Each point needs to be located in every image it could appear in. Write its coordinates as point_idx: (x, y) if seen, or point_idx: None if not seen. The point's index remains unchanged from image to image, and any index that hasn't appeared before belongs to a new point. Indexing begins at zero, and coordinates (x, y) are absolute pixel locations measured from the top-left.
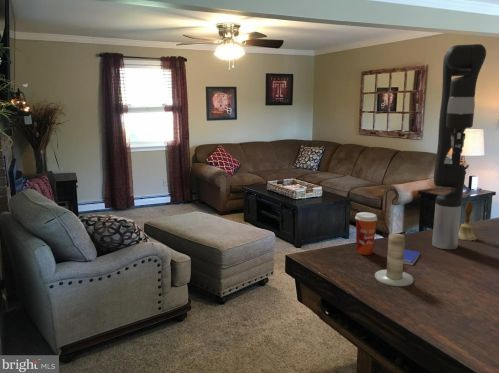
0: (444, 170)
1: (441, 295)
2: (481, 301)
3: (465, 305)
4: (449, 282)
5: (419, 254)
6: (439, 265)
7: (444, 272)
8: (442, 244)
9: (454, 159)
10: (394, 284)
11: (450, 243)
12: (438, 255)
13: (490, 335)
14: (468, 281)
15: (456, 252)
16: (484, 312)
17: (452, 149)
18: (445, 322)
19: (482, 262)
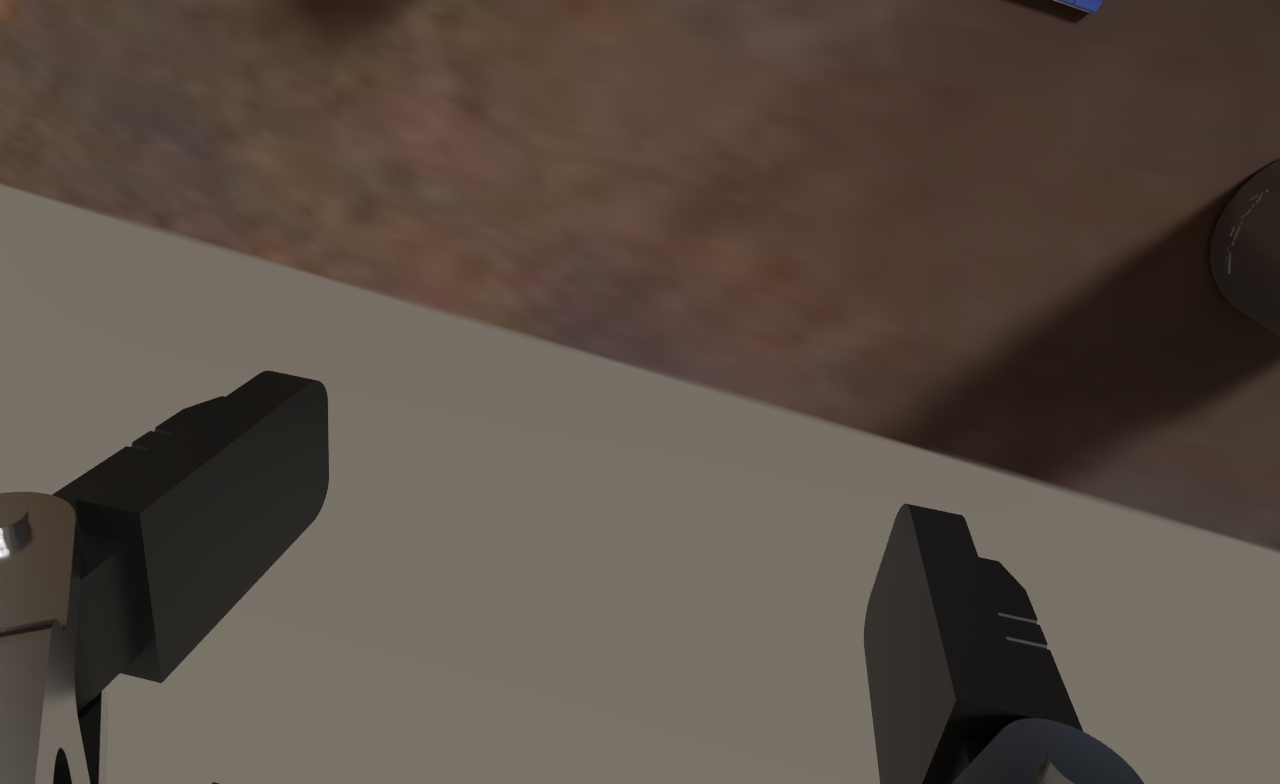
0: None
1: (413, 63)
2: (415, 251)
3: (342, 165)
4: (603, 140)
5: (1075, 7)
6: (873, 128)
7: (753, 139)
8: (1243, 212)
9: (139, 454)
10: None
11: (1231, 271)
12: (1078, 154)
13: (114, 204)
14: (646, 249)
15: (1152, 291)
16: (305, 234)
17: (1027, 730)
18: (131, 34)
19: (966, 401)
